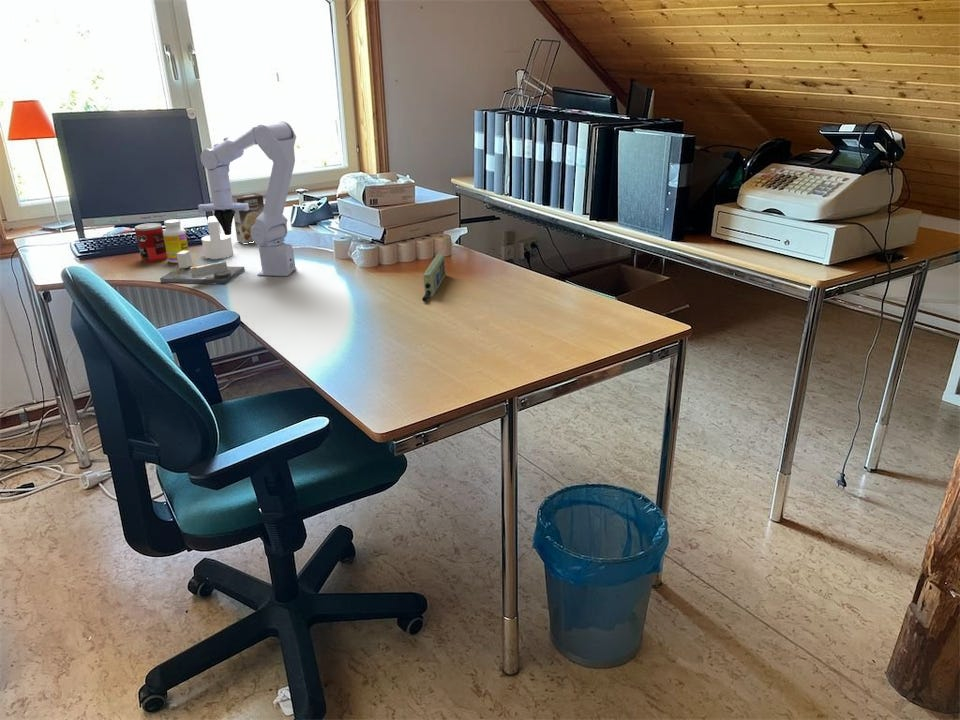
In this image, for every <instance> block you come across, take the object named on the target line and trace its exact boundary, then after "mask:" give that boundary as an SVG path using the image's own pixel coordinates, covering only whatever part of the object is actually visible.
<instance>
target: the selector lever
mask: <svg viewBox="0 0 960 720" xmlns="http://www.w3.org/2000/svg"><path fill="white" fill-rule="evenodd" d="M193 266H194V267H190V270H191V275H192V277H193V278H197V277H202V276H206V275H211V274H213V275H214V276H225V275H229V274H230V273H231V272H230V270H228V269H227V266H228V263H227V261H225V260H222V261H218V262H213V263H207V264H203V265H193ZM195 266H197V267H195Z"/></svg>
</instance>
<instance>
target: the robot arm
mask: <svg viewBox="0 0 960 720" xmlns="http://www.w3.org/2000/svg"><path fill="white" fill-rule="evenodd" d="M296 139H297V134H296V133H295V131H294V130H293V128H292V126H291V125H290V123H288V122H286V121H279V122H276V123H267V124H259V125H258V124H257V126H254V127H252V128H251V129H249V130H248V131H246V132H244V133H243V134H241V135H240V136H239V137H238V138H235V137H231V136H228V137H224V138H223V139H222V140H223V141H222V142H220V143H215V144H213V147H212V148H204V149H203V150H202V151H201V153H200V161H201V162H200V163H201V164H202V166H203V167H204V168H205V169H206V171H207V177H208V182H209V188H210V194H211V200H212V202H211V203H202V204H198V205H197V207H198V212H199V213H203V212H214V213H213V216H215V217H216V219H217V220H218V221H219V224H220V228H222V230H223V234H225V235H230V236H231V234H232V227H233V221H234V214H235V211H240V210H244V211H248V210H249V205H248V203H233V200H232V196H233V194H232V188H231V183H230V175H229V172H230V164H231V163H232V162H233V161H235V160H237V159H239V158H241V157H243V155H244V153H245V150H247V149H248V148H250V147H253V146H254V145H255V146H256V145H257V146H258V147H259V148H260V149H261V151H262V152H263V153H264V154H265V155H266V157H267V158H268V159H269V160H271V161H272V162H273V164H272V168H271V172H270V177H269V183H268V187H267V191H266V196H265V200H264V209H263V212H262V213H261V214H260V215H259V216H258V217H257V218H256V220H255V223H254V225H253V226H252V227H251V231H250V233H251V237H252V239H253V241H254V242H255V243H254V244H255V245H256V246H257V247H258V252H259V258H260V265H261V270H260V271H258V273H257V274H256V275H257V276H269V277H271V276H272V277H273V276H275V277H288V276H289V275H291V274H292V273H293V272H294V271H295V270H297V266H296V261H295V254H294V249H293V245H292V244H290V243H286V242H285V241H286V240H285V238H286V237H287V236H288V224H287V223H288V218H287V217H286V216H285V215H284V214H283V213H284V211H285V206H286V202H287V198H288V192H289V188H290V186H291V180H292V176H293V173H294V172H293V171H294V168H295V163H296V162H295V161H296V155H295V145H296Z"/></svg>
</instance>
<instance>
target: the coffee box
mask: <svg viewBox="0 0 960 720" xmlns="http://www.w3.org/2000/svg"><path fill="white" fill-rule="evenodd" d="M232 200H233V203H248V205H249V210H248V211H244V210H240V211H235V214H234V217H233V221H234V227H235V234H236V235H235V236H236V240H237V241H239V242H241V243H249V242H253V239H252V237H251V233H250V231H251V227H252V226H253V225H254V223H255V220H256V218H257V217H258V216H259V215H260V214H261V213H262V212H263V209H264V204H265V201H264V197H263V194H260V193H256V192H253V193H245V194H237V195H235V194H234V195H232ZM239 242H238V243H239ZM241 243H240V244H241Z"/></svg>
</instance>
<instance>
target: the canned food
mask: <svg viewBox="0 0 960 720" xmlns="http://www.w3.org/2000/svg"><path fill="white" fill-rule="evenodd" d="M134 230H135V237H136V241H137V245H138V248H139V249H138V250H139V253H140V258H141V260H142V262H144V261H146V262H145V263H156V262H155V261H158V262H162V260H163V261H165V260H168V257H167V252H166V247H165V242H164V237H163V231H164V230H163V226H162V224H161V223H159V222H149V223H141V224H138V225H136V226H134Z"/></svg>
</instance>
